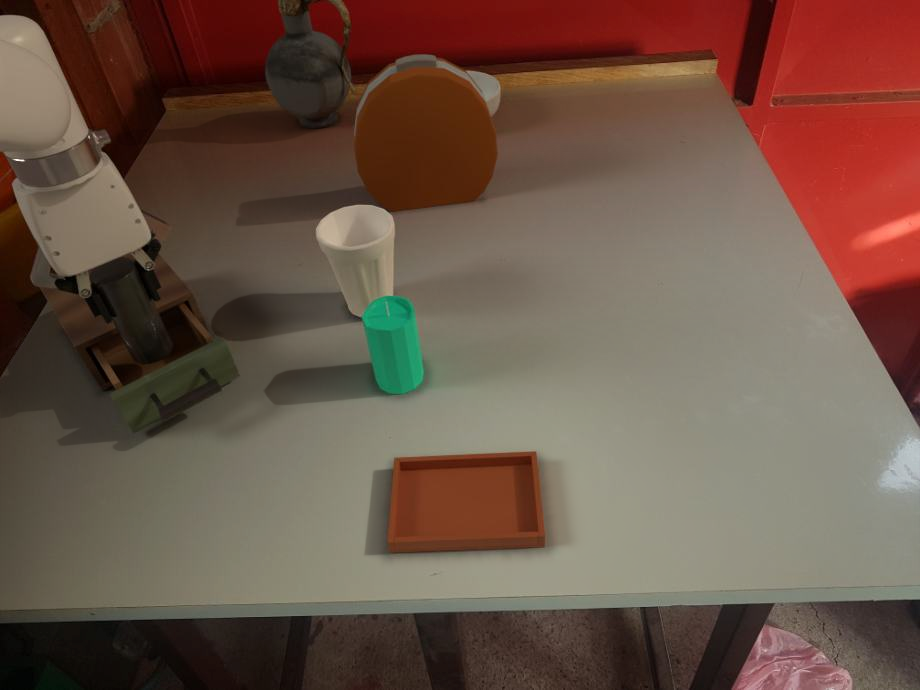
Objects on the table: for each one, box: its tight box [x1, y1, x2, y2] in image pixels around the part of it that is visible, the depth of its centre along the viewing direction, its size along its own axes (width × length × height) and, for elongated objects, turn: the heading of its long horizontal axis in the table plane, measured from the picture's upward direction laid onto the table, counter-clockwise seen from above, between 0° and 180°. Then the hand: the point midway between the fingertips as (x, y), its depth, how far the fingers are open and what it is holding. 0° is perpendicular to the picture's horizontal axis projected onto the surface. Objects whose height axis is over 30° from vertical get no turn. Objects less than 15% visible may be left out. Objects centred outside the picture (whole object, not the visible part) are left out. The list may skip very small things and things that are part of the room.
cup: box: [315, 204, 396, 318], centre depth 91 cm, size 10×10×13 cm
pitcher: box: [264, 0, 358, 129], centre depth 128 cm, size 11×19×30 cm, turn 66°
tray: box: [386, 450, 546, 554], centre depth 71 cm, size 15×10×2 cm
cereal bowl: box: [466, 70, 502, 118], centre depth 132 cm, size 17×17×7 cm
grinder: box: [89, 257, 173, 364], centre depth 79 cm, size 5×5×12 cm
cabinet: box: [39, 253, 211, 392], centre depth 92 cm, size 16×15×8 cm
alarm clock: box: [353, 53, 499, 212], centre depth 109 cm, size 22×10×23 cm, turn 97°
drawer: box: [90, 303, 241, 434], centre depth 84 cm, size 19×14×6 cm
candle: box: [361, 295, 425, 395], centre depth 81 cm, size 6×6×12 cm
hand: (129, 304), depth 78 cm, fingers closed on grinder, 4 cm apart
